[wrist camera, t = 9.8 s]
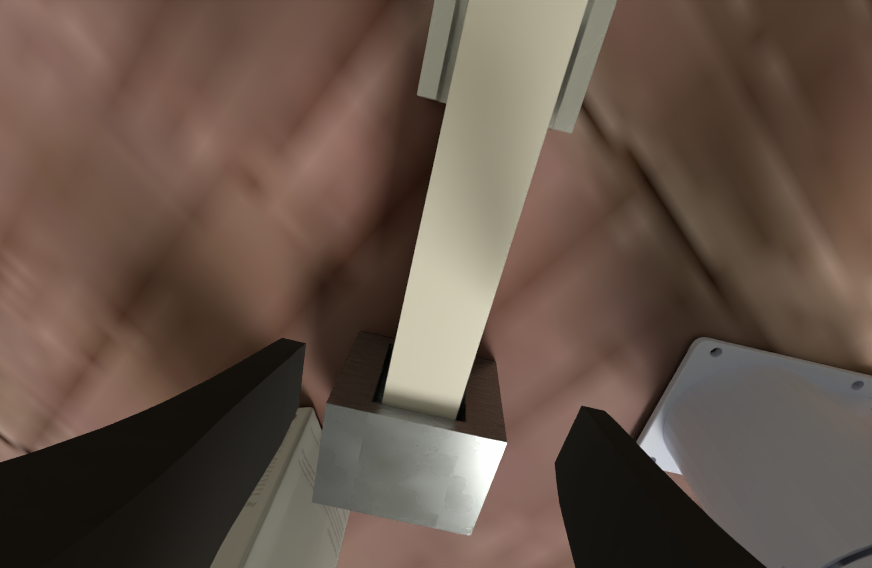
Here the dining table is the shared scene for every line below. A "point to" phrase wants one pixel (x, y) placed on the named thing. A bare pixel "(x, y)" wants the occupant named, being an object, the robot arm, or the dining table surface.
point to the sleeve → (577, 76)
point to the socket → (408, 446)
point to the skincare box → (287, 511)
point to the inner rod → (477, 191)
